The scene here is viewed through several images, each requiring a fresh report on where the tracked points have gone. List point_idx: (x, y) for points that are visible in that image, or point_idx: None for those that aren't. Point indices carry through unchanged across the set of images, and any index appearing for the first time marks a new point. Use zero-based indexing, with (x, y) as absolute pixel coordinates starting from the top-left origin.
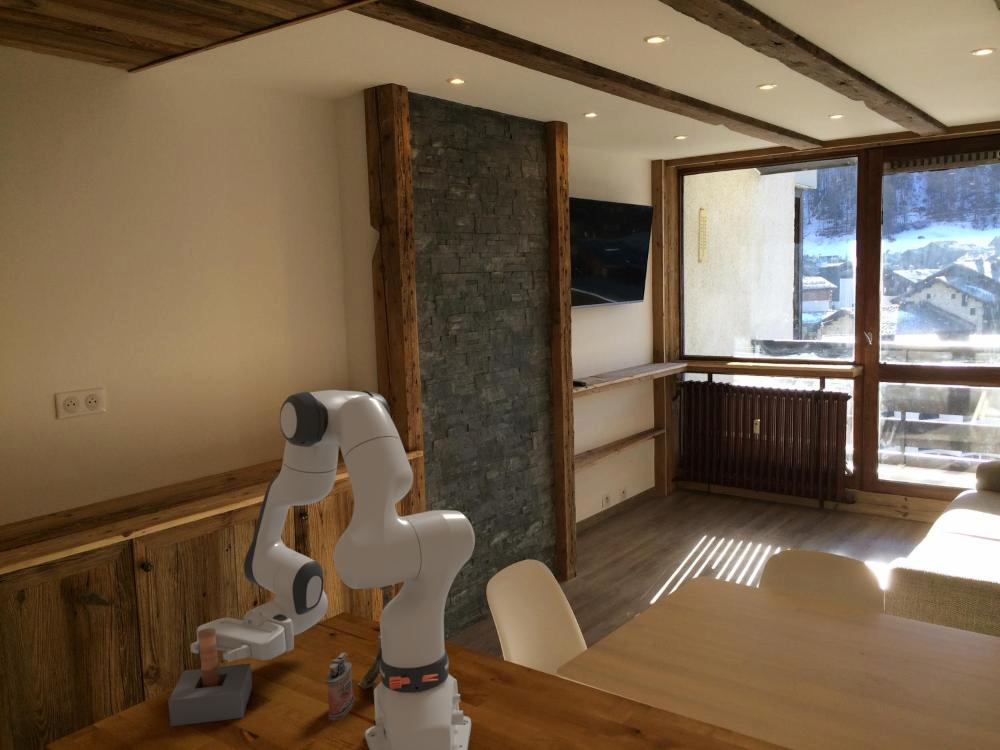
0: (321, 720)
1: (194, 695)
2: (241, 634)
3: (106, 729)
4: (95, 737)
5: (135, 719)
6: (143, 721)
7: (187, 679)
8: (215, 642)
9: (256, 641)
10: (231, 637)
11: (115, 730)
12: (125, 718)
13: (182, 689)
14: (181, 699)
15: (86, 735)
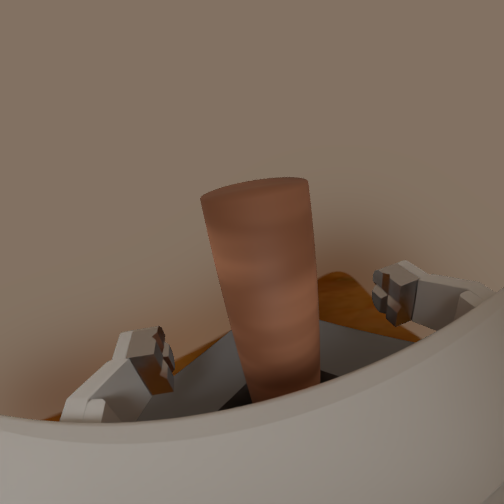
0: None
1: (230, 343)
2: (228, 479)
3: (347, 288)
4: (330, 279)
5: (355, 316)
6: (336, 324)
7: (364, 351)
8: (221, 274)
9: (5, 422)
10: (279, 397)
11: (333, 295)
12: (371, 306)
13: None
14: None
15: (345, 273)
